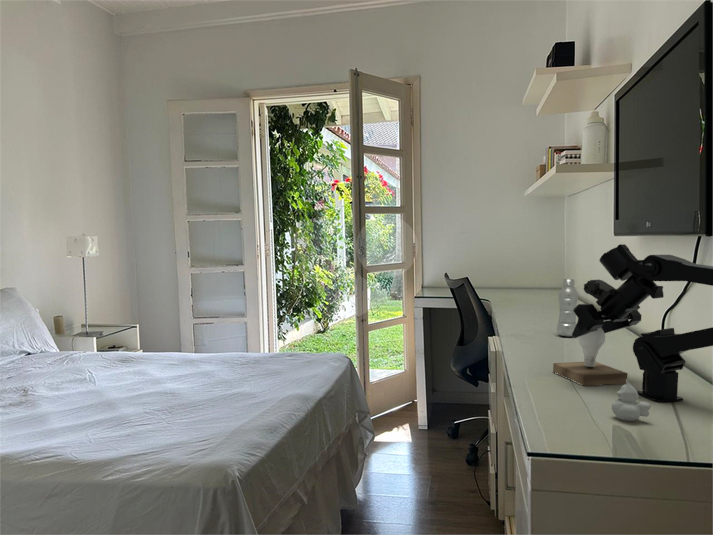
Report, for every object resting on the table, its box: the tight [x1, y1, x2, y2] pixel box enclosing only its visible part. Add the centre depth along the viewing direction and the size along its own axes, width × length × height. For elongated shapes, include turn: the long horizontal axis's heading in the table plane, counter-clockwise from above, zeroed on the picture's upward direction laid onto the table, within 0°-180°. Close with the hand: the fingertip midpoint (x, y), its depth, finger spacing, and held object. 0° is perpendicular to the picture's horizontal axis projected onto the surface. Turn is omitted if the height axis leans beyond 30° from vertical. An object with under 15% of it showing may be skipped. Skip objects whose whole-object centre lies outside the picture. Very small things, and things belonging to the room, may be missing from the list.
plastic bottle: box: [556, 278, 579, 338], centre depth 185 cm, size 6×7×20 cm
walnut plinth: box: [552, 361, 628, 386], centre depth 132 cm, size 12×12×2 cm
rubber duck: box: [611, 378, 651, 422], centre depth 102 cm, size 5×7×8 cm
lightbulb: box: [577, 327, 606, 368], centre depth 131 cm, size 6×6×11 cm
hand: (585, 334), depth 132 cm, fingers open, 9 cm apart
